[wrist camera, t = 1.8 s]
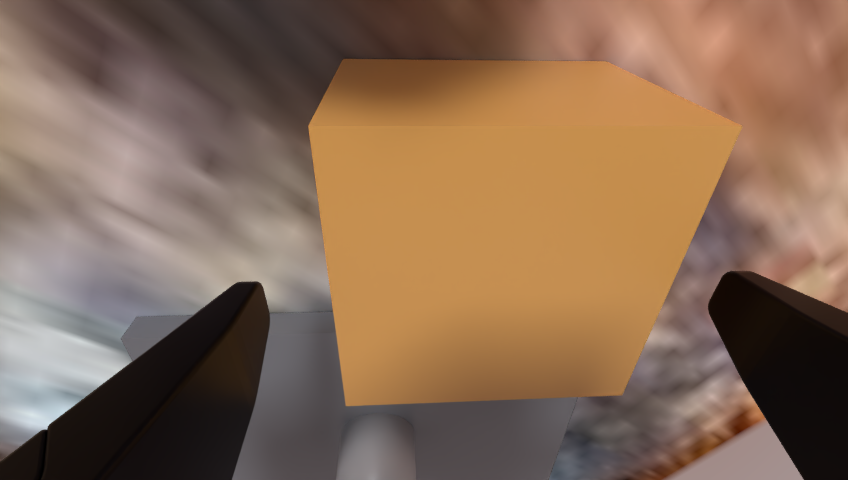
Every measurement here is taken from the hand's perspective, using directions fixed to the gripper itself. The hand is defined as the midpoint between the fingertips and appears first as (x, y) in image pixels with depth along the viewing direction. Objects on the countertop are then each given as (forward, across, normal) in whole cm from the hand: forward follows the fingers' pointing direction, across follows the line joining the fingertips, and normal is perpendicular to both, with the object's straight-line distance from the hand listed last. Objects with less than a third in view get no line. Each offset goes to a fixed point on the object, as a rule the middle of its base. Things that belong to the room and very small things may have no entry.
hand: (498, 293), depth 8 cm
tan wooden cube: (+5, 0, 0) cm, 5 cm away
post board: (+5, +3, +11) cm, 12 cm away
